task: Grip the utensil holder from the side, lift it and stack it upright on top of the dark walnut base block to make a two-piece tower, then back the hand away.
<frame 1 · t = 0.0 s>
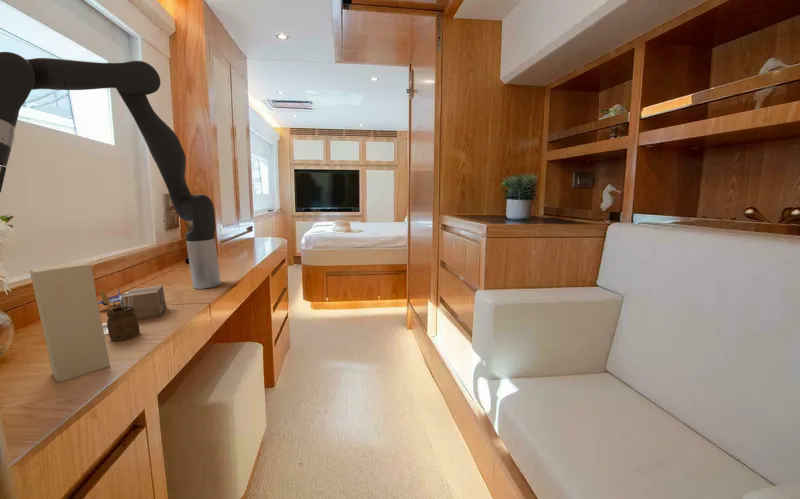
utensil holder: (125, 337, 87), on the table
instruction card: (102, 329, 92), on the table
toy airplane: (123, 307, 111), on the table
toy refrigerator: (82, 369, 71), on the table
walnut base block: (147, 314, 103), on the table
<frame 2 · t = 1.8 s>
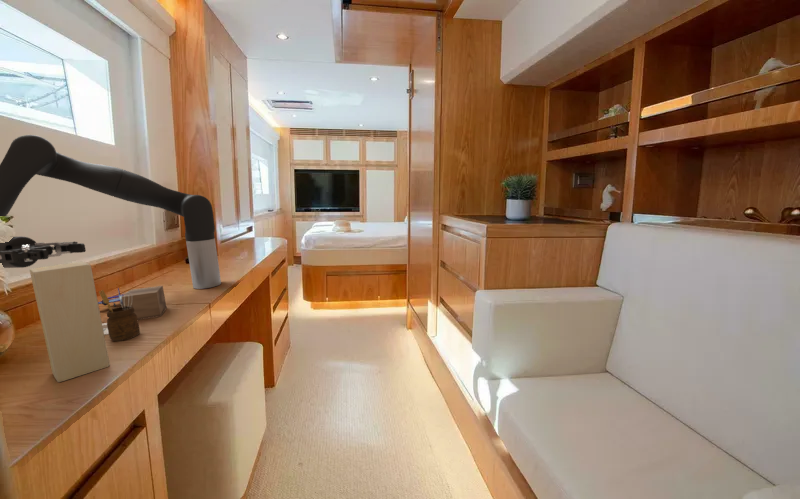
hand: (66, 250, 84), 22 cm above the table, tool horizontal, fingers open, 8 cm apart
nothing on the table moved.
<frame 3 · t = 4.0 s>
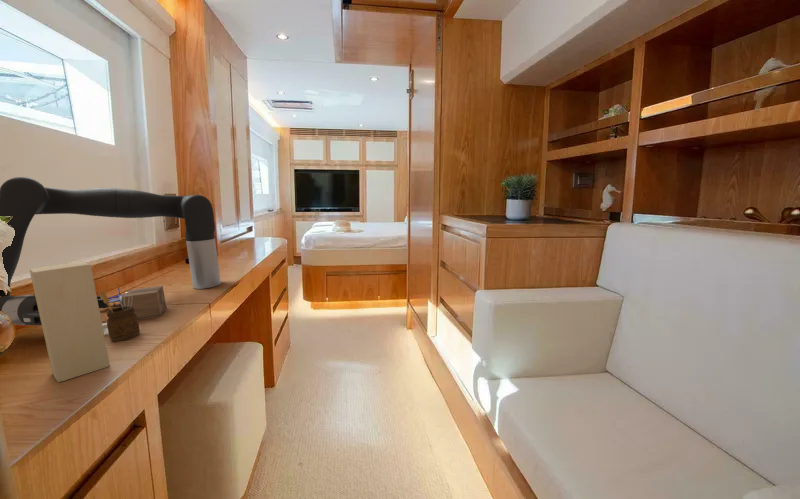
hand: (91, 309, 86), 7 cm above the table, tool horizontal, fingers open, 8 cm apart
nothing on the table moved.
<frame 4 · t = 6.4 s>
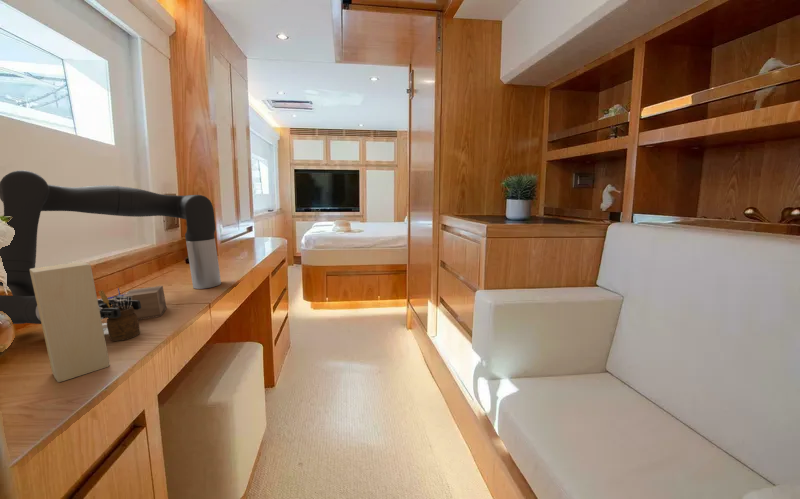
hand: (129, 308, 85), 7 cm above the table, tool horizontal, fingers closed on utensil holder, 5 cm apart
utensil holder: (125, 337, 87), on the table, touching gripper
everything else where it was.
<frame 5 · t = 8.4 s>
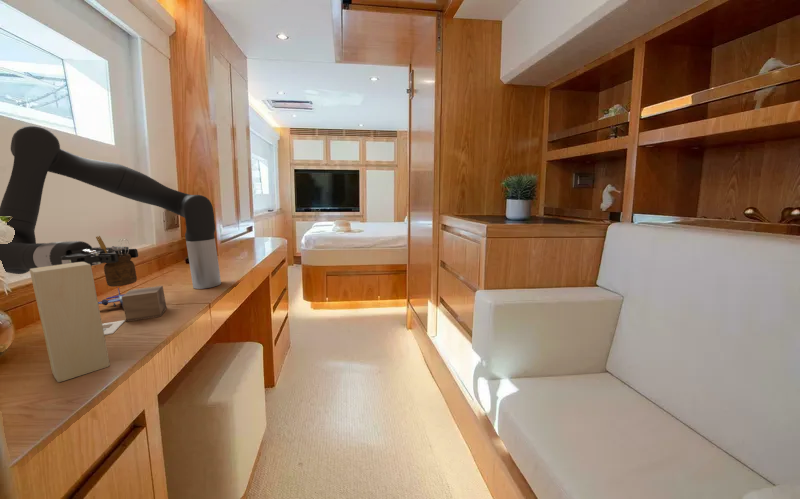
hand: (126, 255, 86), 20 cm above the table, tool horizontal, fingers closed on utensil holder, 5 cm apart
utensil holder: (122, 284, 88), point 12 cm above the table, touching gripper
everything else where it was.
when the fingers open (15 cm above the table, at t = 10.7 s): utensil holder drops 1 cm, resting on walnut base block.
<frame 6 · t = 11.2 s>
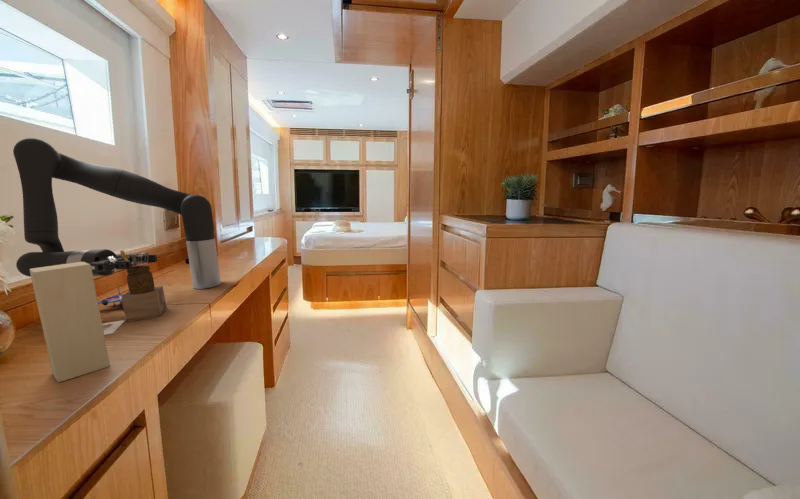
hand: (144, 261, 100), 16 cm above the table, tool horizontal, fingers open, 8 cm apart
utensil holder: (142, 291, 101), point 7 cm above the table, touching walnut base block
everything else where it was.
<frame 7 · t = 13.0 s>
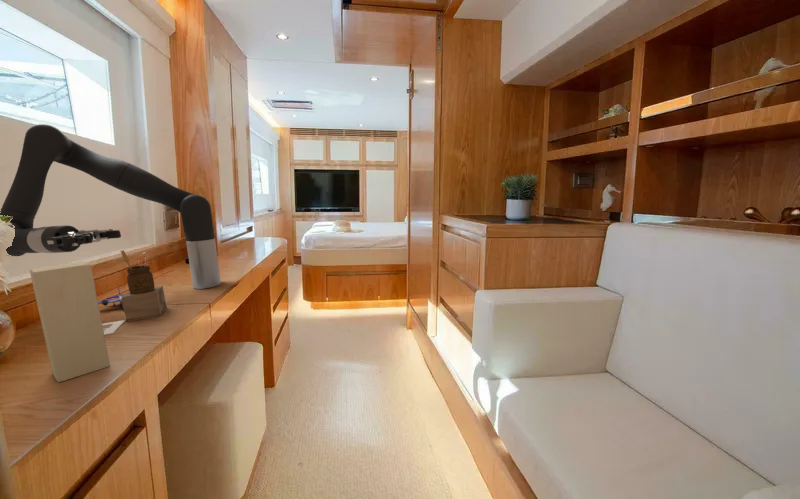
hand: (105, 236, 98), 23 cm above the table, tool horizontal, fingers open, 8 cm apart
nothing on the table moved.
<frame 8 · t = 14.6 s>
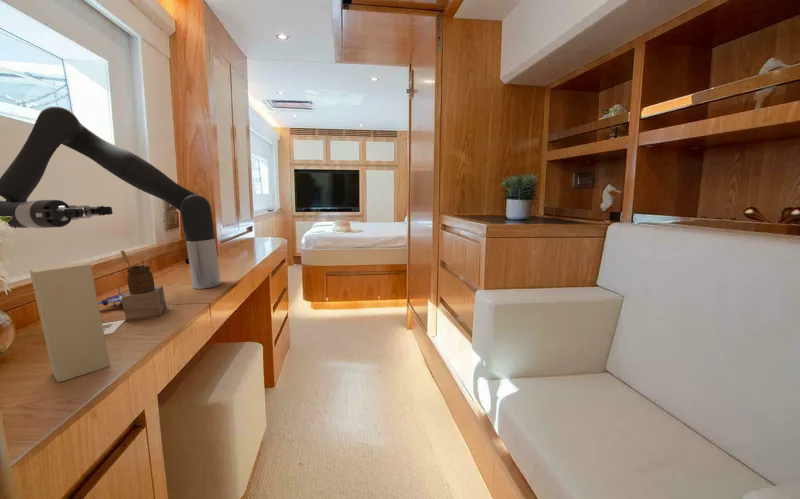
hand: (96, 211, 96), 30 cm above the table, tool horizontal, fingers open, 8 cm apart
nothing on the table moved.
at the end: utensil holder inside the target area on the walnut base block (0.3 cm from its centre), point 6.8 cm above the walnut base block's base; utensil holder tilted 0°; the gripper is holding nothing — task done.
